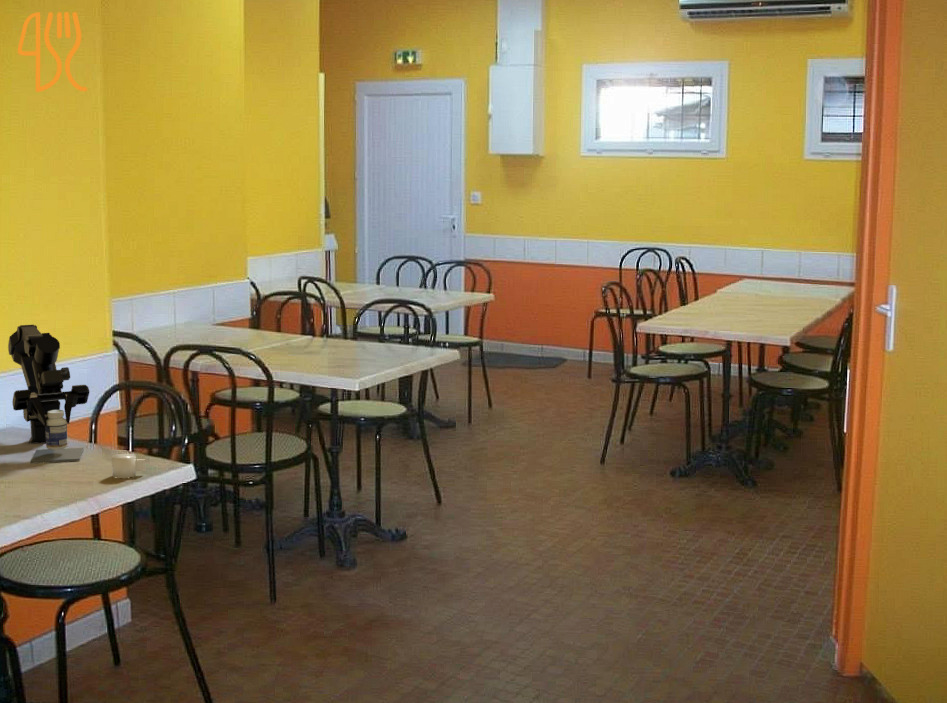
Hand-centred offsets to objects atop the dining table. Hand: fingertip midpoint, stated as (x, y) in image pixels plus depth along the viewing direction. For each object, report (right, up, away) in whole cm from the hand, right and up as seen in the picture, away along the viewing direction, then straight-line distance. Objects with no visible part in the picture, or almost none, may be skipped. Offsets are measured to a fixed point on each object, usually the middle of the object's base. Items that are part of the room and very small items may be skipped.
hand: (57, 424), depth 307 cm
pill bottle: (-1, -6, +2) cm, 7 cm away
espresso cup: (+23, -12, -15) cm, 30 cm away
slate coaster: (-1, -9, +2) cm, 9 cm away
